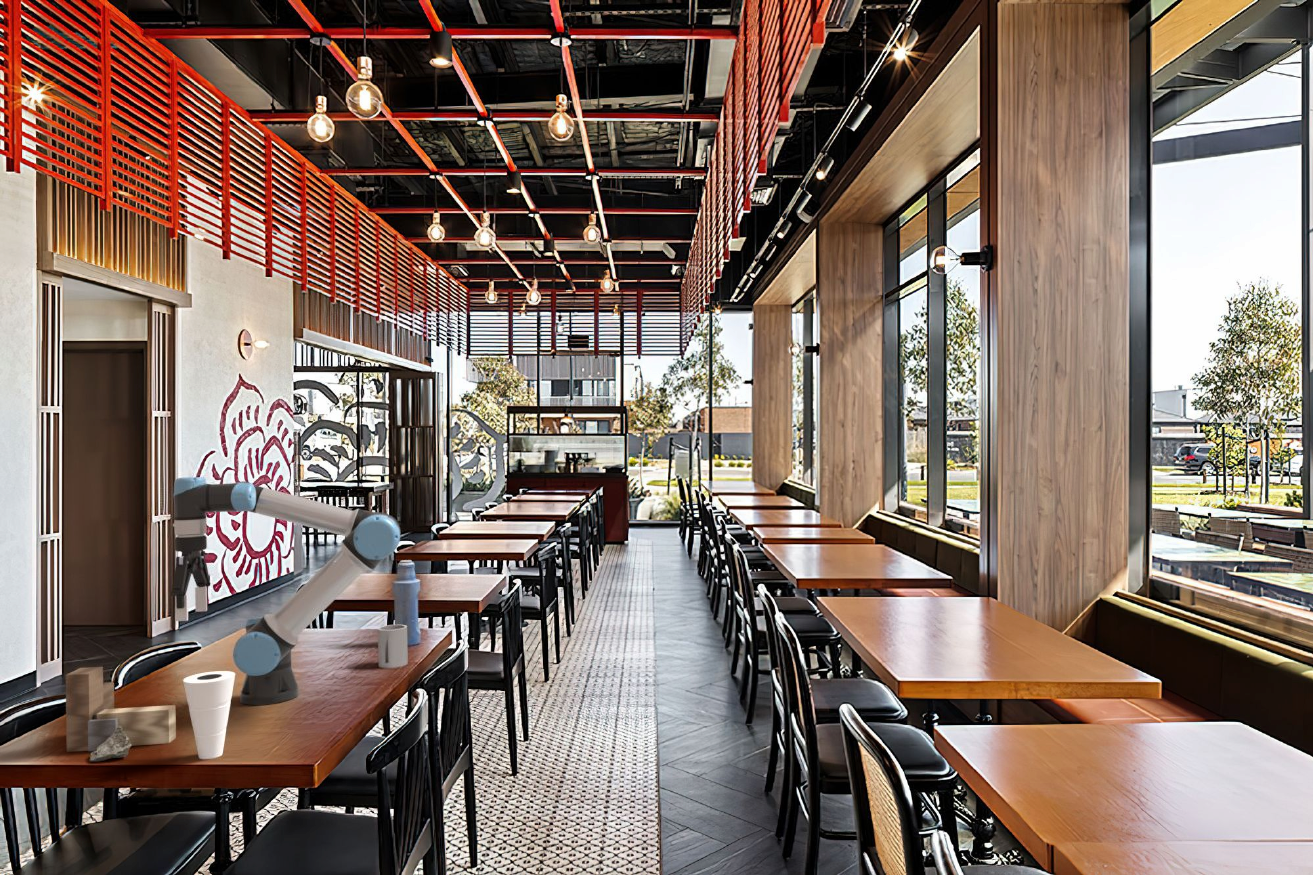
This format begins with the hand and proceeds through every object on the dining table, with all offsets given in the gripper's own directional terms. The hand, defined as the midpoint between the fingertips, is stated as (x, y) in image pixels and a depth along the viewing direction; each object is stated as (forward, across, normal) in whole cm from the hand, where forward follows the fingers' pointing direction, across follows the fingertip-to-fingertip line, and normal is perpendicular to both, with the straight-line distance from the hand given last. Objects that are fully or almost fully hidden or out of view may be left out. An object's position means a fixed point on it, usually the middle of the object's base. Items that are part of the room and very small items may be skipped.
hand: (191, 616), depth 231 cm
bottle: (+27, -78, +45) cm, 94 cm away
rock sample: (+27, +29, -8) cm, 40 cm away
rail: (+27, +19, -6) cm, 33 cm away
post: (+27, +15, -14) cm, 34 cm away
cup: (+27, -47, +44) cm, 70 cm away
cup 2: (+27, +33, +15) cm, 45 cm away
